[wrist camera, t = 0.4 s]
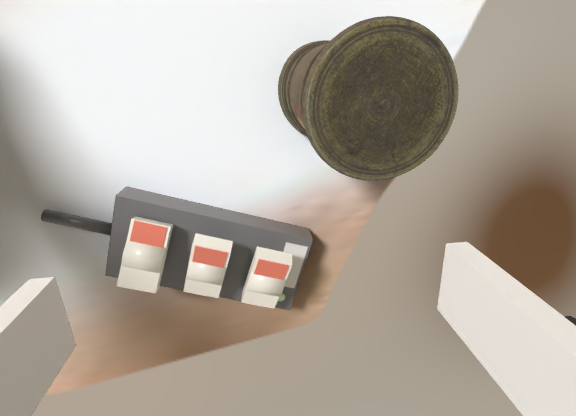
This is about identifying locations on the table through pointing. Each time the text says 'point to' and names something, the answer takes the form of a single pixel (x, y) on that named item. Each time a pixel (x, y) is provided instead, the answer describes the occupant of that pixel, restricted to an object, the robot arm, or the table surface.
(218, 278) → the rocker
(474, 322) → the robot arm
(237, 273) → the rocker switch panel
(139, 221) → the rocker
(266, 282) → the rocker
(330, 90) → the container
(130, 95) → the table surface
